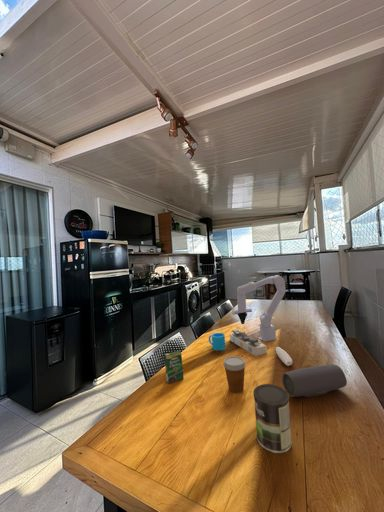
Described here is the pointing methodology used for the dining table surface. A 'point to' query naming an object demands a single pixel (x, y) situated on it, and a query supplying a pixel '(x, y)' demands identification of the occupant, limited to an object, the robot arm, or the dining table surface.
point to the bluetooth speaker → (314, 380)
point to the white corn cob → (284, 356)
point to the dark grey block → (236, 332)
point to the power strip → (249, 345)
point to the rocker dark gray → (244, 336)
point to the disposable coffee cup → (235, 373)
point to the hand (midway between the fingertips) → (242, 323)
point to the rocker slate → (253, 340)
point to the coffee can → (272, 418)
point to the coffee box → (173, 366)
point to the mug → (218, 341)
